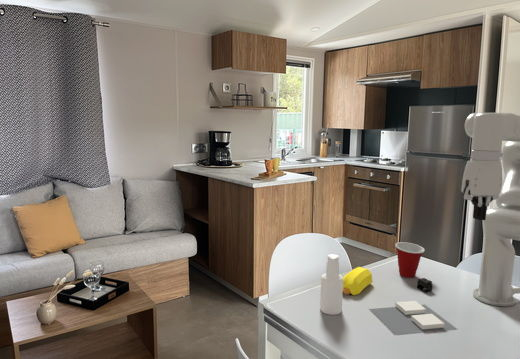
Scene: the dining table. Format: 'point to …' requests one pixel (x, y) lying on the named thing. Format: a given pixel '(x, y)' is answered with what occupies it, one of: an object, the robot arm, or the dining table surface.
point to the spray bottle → (331, 287)
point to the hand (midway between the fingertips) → (479, 219)
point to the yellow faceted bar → (356, 281)
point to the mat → (405, 321)
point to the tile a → (410, 307)
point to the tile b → (427, 321)
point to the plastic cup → (408, 258)
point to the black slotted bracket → (424, 285)
